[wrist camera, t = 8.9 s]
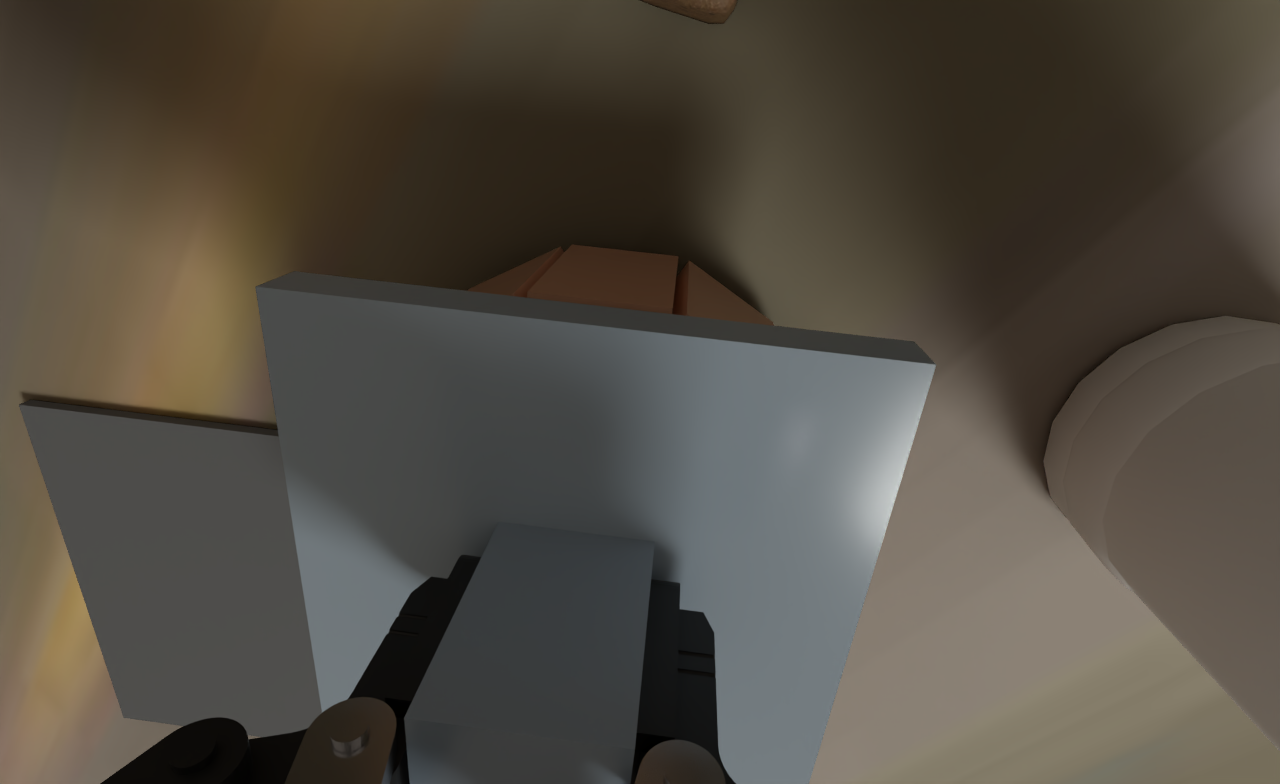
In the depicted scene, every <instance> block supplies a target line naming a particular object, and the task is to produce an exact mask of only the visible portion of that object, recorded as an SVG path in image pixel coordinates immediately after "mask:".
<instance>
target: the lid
mask: <svg viewBox="0 0 1280 784" xmlns="http://www.w3.org/2000/svg"><path fill="white" fill-rule="evenodd" d="M256 293H257V300H258V306H259V313H260V319H261V325H262V332H263V338H264V344H265V351H266V357H267V364H268V370H269V376H270V383H271V389H272V396H273V402H274V408H275V415H276V421H277V428H278V434H279V440H280V447H281V453H282V460H283V466H284V472H285V479H286V485H287V491H288V498H289V504H290V511H291V517H292V523H293V530H294V536H295V543H296V549H297V555H298V562H299V568H300V575H301V581H302V587H303V594H304V600H305V607H306V613H307V619H308V626H309V632H310V638H311V645H312V651H313V658H314V664H315V670H316V677H317V683H318V690H319V696H320V702H321V709H322V712H324V711H325V710H326V709H328V708H330V707H331V706H333V705H335V704H337V703H339V702H342V701H344V700H347V699H348V698H349V697H350V695H351V693H352V692H353V690H354V688H355V687H356V685H357V683H358V682H359V680H360V678H361V677H362V675H363V673H364V671H365V670H366V668H367V666H368V665H369V663H370V661H371V660H372V658H373V656H374V655H375V653H376V651H377V649H378V648H379V646H380V644H381V643H382V641H383V639H384V638H385V636H386V634H388V633H389V629H390V627H391V626H392V624H393V622H394V621H395V619H396V617H398V616H399V612H400V610H401V609H402V607H403V605H404V604H405V602H406V600H407V599H408V597H409V595H410V594H411V592H413V591H414V590H415V589H416V588H418V587H419V586H420V585H421V584H423V583H424V582H425V581H426V580H428V579H429V578H430V577H439V578H446V579H448V577H449V575H450V573H451V571H452V570H453V568H454V566H455V564H456V562H457V560H458V558H459V557H460V556H461V555H470V556H478V557H481V559H480V561H479V563H478V565H477V567H476V570H475V572H474V574H473V576H472V578H471V580H470V582H469V584H468V586H467V588H466V590H465V592H464V595H463V597H462V599H461V601H460V603H459V605H458V607H457V609H456V611H455V613H454V615H453V617H452V619H451V622H450V624H449V626H448V628H447V630H446V632H445V634H444V636H443V638H442V640H441V642H440V644H439V646H438V649H437V651H436V653H435V655H434V657H433V659H432V661H431V663H430V665H429V667H428V669H427V671H426V674H425V676H424V678H423V680H422V682H421V684H420V686H419V688H418V690H417V692H416V694H415V696H414V698H413V701H412V703H411V705H410V707H409V709H408V711H407V713H406V715H405V717H404V722H405V734H406V746H407V758H408V770H409V783H410V784H630V783H631V775H632V768H633V760H634V753H635V743H636V733H637V722H638V712H639V701H640V691H641V680H642V670H643V659H644V649H645V638H646V628H647V617H648V607H649V596H650V586H651V579H655V580H662V581H670V582H678V583H680V609H683V610H690V611H698V612H703V613H704V614H705V616H706V618H707V620H708V622H709V624H710V626H711V628H712V629H713V631H714V639H715V667H716V675H715V678H716V696H717V724H718V748H719V754H720V758H721V761H722V763H723V766H724V768H725V770H726V771H727V773H728V774H729V776H730V777H731V778H732V780H733V781H734V782H735V783H736V784H809V781H810V778H811V774H812V771H813V768H814V764H815V761H816V758H817V755H818V751H819V748H820V745H821V741H822V738H823V735H824V732H825V728H826V725H827V722H828V718H829V715H830V712H831V709H832V705H833V702H834V699H835V695H836V692H837V689H838V686H839V682H840V679H841V676H842V673H843V669H844V666H845V663H846V659H847V656H848V653H849V650H850V646H851V643H852V640H853V636H854V633H855V630H856V627H857V623H858V620H859V617H860V613H861V610H862V607H863V604H864V600H865V597H866V594H867V590H868V587H869V584H870V581H871V577H872V574H873V571H874V567H875V564H876V561H877V558H878V554H879V551H880V548H881V545H882V541H883V538H884V535H885V531H886V528H887V525H888V522H889V518H890V515H891V512H892V508H893V505H894V502H895V499H896V495H897V492H898V489H899V485H900V482H901V479H902V476H903V472H904V469H905V466H906V462H907V459H908V456H909V453H910V449H911V446H912V443H913V439H914V436H915V433H916V430H917V426H918V423H919V420H920V417H921V413H922V410H923V407H924V403H925V400H926V397H927V394H928V390H929V387H930V384H931V380H932V377H933V374H934V371H935V367H936V364H935V363H934V362H933V361H932V360H931V359H930V358H929V357H928V356H927V354H926V353H925V352H924V351H923V350H922V349H921V348H920V347H919V346H918V345H917V344H916V343H915V342H913V341H904V340H895V339H886V338H877V337H869V336H860V335H851V334H842V333H833V332H825V331H816V330H807V329H798V328H789V327H781V326H772V325H763V324H754V323H745V322H736V321H728V320H719V319H710V318H701V317H692V316H684V315H675V314H666V313H657V312H648V311H640V310H631V309H622V308H613V307H604V306H596V305H587V304H578V303H569V302H560V301H552V300H543V299H534V298H525V297H516V296H508V295H499V294H490V293H481V292H472V291H464V290H455V289H446V288H437V287H428V286H419V285H411V284H402V283H393V282H384V281H375V280H367V279H358V278H349V277H340V276H331V275H323V274H314V273H305V272H296V271H294V272H291V273H289V274H286V275H284V276H281V277H279V278H276V279H273V280H271V281H268V282H266V283H263V284H261V285H258V286H256Z"/></svg>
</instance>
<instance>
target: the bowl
mask: <svg viewBox="0 0 1280 784" xmlns="http://www.w3.org/2000/svg"><path fill="white" fill-rule="evenodd" d="M678 257H679V256H672V255H663V254H654V253H645V252H636V251H626V250H617V249H608V248H599V247H590V246H581V245H571V246H570V247H569V248H568V249H567V250H566V251H565V252H564V251H563V249H562V247H561V246H560V247H558V248H556V249H554V250H552V251H550V252H547V253H545V254H543V255H541V256H539V257H537V258H534V259H532V260H530V261H528V262H526V263H524V264H521V265H519V266H517V267H515V268H513V269H511V270H509V271H506V272H504V273H502V274H500V275H498V276H496V277H493V278H491V279H489V280H487V281H485V282H483V283H480V284H478V285H476V286H474V287H472V288H470V289H469V290H467V291H472V292H481V293H490V294H499V295H508V296H516V297H525V298H534V299H543V300H552V301H560V302H569V303H578V304H587V305H596V306H604V307H613V308H622V309H631V310H640V311H648V312H657V313H666V314H675V315H684V316H692V317H701V318H710V319H719V320H728V321H736V322H745V323H754V324H763V325H772V326H774V324H773V322H772V321H770V320H769V319H768V318H766V317H765V316H764V315H762V314H761V313H760V312H758V311H757V310H756V309H754V308H753V307H752V306H750V305H749V304H747V303H746V302H745V301H743V300H742V299H741V298H739V297H738V296H737V295H735V294H734V293H733V292H731V291H730V290H729V289H727V288H726V287H724V286H723V285H722V284H720V283H719V282H718V281H716V280H715V279H714V278H712V277H711V276H710V275H708V274H707V273H706V272H704V271H703V270H701V269H700V268H699V267H697V266H696V265H695V264H693V263H692V262H691V261H688V263H687V264H686V265H685V267H684V268H683V269H682V271H681V272H680V273H679V274H678V276H677V277H676V275H677V266H678Z"/></svg>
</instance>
